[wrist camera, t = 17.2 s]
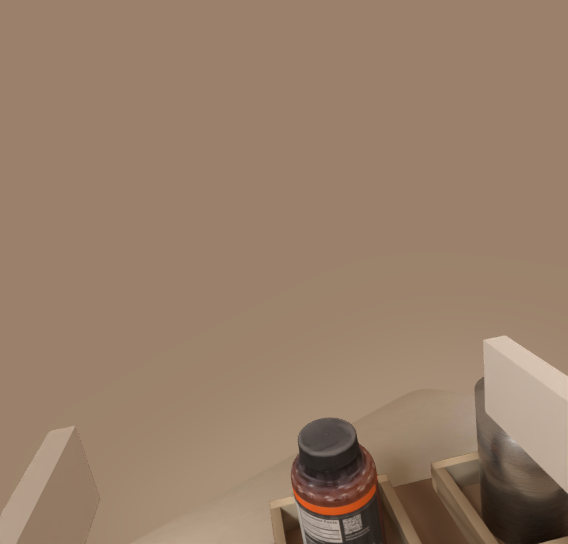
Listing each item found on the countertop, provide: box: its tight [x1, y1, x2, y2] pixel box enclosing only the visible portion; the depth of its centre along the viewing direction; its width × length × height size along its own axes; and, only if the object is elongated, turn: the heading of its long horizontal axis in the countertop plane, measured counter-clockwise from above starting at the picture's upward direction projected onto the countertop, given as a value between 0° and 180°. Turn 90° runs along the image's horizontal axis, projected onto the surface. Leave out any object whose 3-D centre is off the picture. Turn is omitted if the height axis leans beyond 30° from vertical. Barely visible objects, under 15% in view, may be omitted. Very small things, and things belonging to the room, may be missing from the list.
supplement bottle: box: [291, 418, 387, 544], centre depth 32 cm, size 6×6×11 cm
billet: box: [475, 377, 568, 544], centre depth 33 cm, size 6×6×11 cm
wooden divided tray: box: [269, 452, 568, 544], centre depth 34 cm, size 24×12×4 cm, turn 98°
